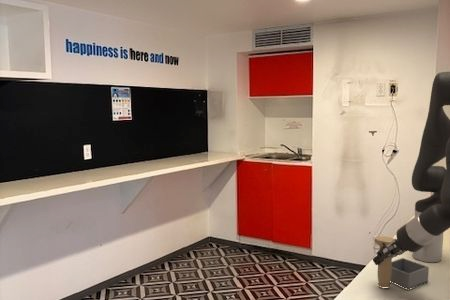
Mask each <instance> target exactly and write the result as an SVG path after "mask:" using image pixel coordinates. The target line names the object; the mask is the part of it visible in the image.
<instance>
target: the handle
mask: <svg viewBox="0 0 450 300" xmlns="http://www.w3.org/2000/svg"><path fill="white" fill-rule="evenodd" d="M394 239H396V240H397V238H394V237H389V236H384V235H381V236H380V235H377V236H375V237H374V243H375V244H376V245H378V246H379V250H380V249H381V248H382V247H383V246H384V245H386V246H387V245H388V244H390V243H391V241H393V240H394ZM391 253H392V252H391ZM392 259H393V258H390V257H389V258H388V259H386V260H384V261H383V262H381V263H380V264H379V265H377V281H378V282H377V285H379V286H381V287H389V286H391V283H390V281H391V275H392V261H393V260H392ZM379 286H378V287H379ZM381 287H380V288H381ZM389 288H390V287H389Z"/></svg>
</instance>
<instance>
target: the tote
mask: <svg viewBox="0 0 450 300" xmlns="http://www.w3.org/2000/svg"><path fill="white" fill-rule="evenodd" d="M429 269H430V266H427V265H424V264H421V263H420V262H419V263H418V262H416V261H413V260H410V259H407V258H405V257H401V258H398V259H396V260H395V259H394V260H392V275H391V282H393V283H396V284H398V285H400V286H402V287H404V288H407V289H410V288H413V287H416V286H418V287H420V286H419V285H421V284H423V285H425V284H427V282H428V283H429ZM424 283H425V284H424ZM421 286H422V285H421ZM416 288H417V287H416ZM413 289H414V288H413Z"/></svg>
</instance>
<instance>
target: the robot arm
mask: <svg viewBox="0 0 450 300" xmlns="http://www.w3.org/2000/svg"><path fill="white" fill-rule="evenodd" d="M445 106H450V71H442V72H439V73H437V74H436V75H435V76H434V79H433V82H432V86H431V92H430V100H429V108H428V112H427V118H426V121H425V125H424V128H423V131H422V136H421V139H420V140H421V141H420V146H419V147H420V148H419V153H418V155H417V159H416V161H415V165H414V167H413V171H412V175H411V185H412V188H413V189H414V190H415V191H417V192H422V193H433V194H432V195H430V196H428V197H426V198H423V199H419V200H417V201H416V202H415V204H414V217H413V218H412V219H410V220H409V221H408V222H406V223H404V225H402V226H401V227H400V228H399V229H398V230H396V234H395V235H396V238H394V240H393V241H391V243H390V244H388V245H387V246H386V245H384V246H383V247H382V248H381V249H380V248H379V250H378V251H377V252H376V255H375V256H374V257H373V258H372V261H373V263H374V265H376V266H378V265H379V264H380V263H381V262H383V261H384V260H386V259H388V258H389V257H390V258H392V259H393V258H396V257H398V256H401V255H403V254H404V253H406V252H409V253H412V257H413V258H414V259H416V260H417V261H420V262H425V263H439V262H441V261H442V258H443V246H444V232H446V231H448V230H449V229H450V118H449V117H448V115H447V114H446V113H445V110H444V107H445ZM443 159H445V166H442V165H436V164H437V163H439V162H440V161H441V160H443ZM396 239H397V240H396ZM391 252H392V253H391Z"/></svg>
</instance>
